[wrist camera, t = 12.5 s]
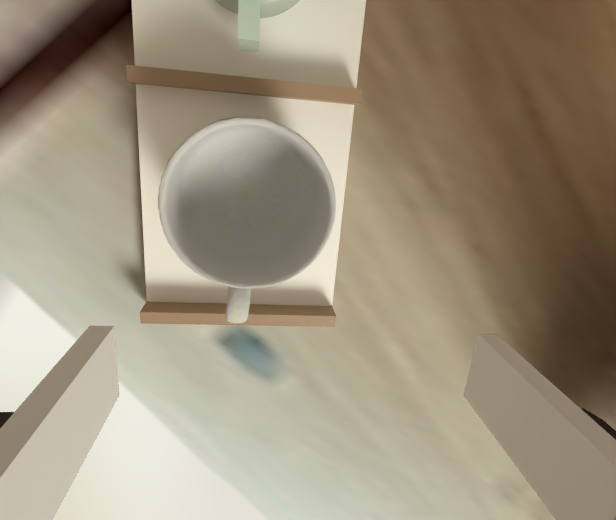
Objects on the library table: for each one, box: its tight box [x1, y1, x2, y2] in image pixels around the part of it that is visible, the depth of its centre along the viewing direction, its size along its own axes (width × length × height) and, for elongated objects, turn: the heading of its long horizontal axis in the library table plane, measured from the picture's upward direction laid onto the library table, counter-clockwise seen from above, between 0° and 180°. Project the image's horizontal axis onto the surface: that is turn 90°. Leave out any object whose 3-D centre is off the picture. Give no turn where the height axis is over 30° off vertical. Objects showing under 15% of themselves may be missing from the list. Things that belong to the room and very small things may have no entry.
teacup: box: [158, 117, 336, 323], centre depth 28 cm, size 14×11×8 cm
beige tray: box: [126, 0, 366, 327], centre depth 29 cm, size 16×37×3 cm, turn 175°
